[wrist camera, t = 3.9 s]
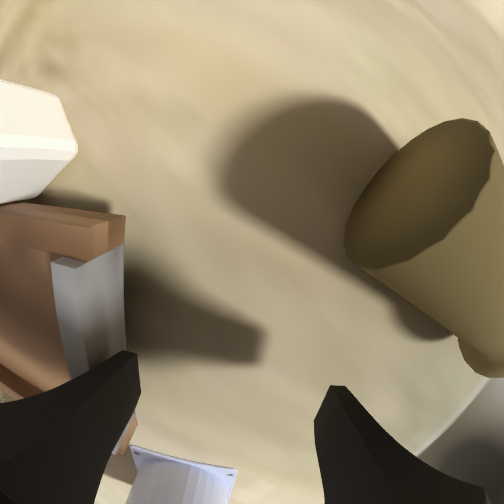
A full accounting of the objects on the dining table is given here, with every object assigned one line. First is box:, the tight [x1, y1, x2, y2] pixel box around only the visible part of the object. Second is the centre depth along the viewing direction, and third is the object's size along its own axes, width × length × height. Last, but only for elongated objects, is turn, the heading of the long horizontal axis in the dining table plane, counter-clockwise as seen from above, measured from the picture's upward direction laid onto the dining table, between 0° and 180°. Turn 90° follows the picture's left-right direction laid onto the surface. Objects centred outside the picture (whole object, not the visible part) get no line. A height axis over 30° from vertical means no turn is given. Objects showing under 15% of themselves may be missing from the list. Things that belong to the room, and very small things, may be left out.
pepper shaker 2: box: [344, 118, 504, 378], centre depth 8 cm, size 6×6×11 cm
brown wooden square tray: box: [0, 202, 138, 456], centre depth 9 cm, size 11×11×4 cm
